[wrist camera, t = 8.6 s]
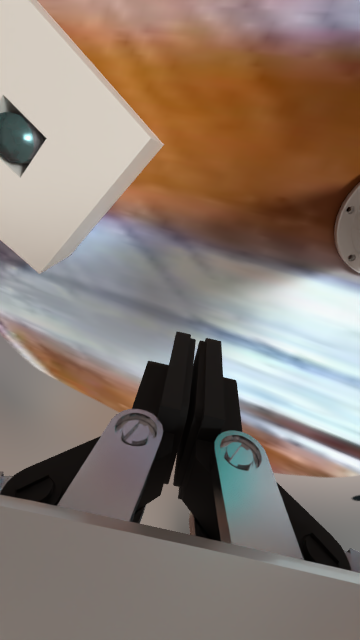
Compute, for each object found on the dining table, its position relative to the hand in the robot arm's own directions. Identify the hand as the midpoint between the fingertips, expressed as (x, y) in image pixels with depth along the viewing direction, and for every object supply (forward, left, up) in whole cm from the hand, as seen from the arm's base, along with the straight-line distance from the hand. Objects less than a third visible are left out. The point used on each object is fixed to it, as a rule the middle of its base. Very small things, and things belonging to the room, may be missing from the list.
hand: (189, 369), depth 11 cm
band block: (+6, -19, -29) cm, 35 cm away
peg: (+6, -19, -29) cm, 35 cm away
